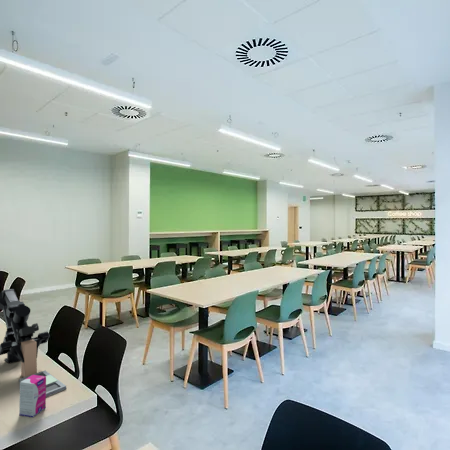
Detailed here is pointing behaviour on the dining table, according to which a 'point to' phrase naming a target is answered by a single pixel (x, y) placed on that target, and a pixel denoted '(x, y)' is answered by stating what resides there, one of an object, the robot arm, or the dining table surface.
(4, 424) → the dining table surface
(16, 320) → the robot arm
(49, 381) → the tray
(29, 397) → the supplement box
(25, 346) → the tan tall block
